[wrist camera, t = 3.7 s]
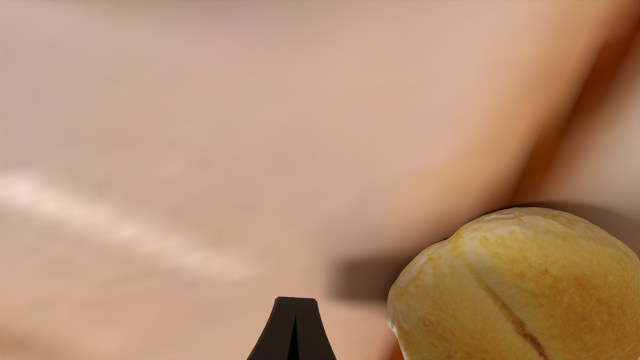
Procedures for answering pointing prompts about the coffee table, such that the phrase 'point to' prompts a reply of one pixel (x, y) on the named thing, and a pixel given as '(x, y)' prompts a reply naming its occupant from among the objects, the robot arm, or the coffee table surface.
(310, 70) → the coffee table surface
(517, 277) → the bread roll
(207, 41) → the coffee table surface
